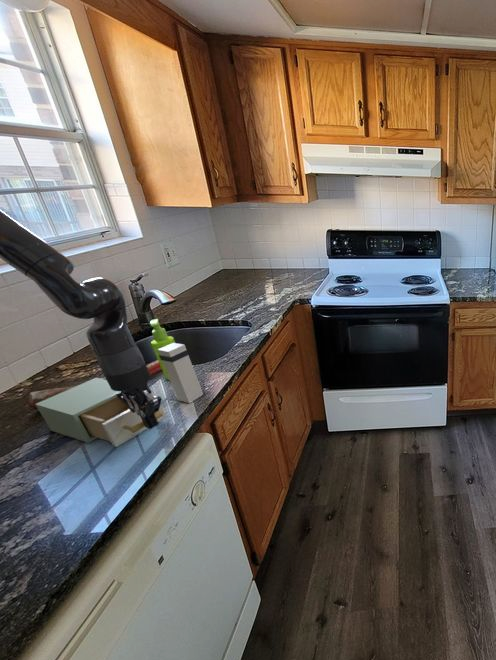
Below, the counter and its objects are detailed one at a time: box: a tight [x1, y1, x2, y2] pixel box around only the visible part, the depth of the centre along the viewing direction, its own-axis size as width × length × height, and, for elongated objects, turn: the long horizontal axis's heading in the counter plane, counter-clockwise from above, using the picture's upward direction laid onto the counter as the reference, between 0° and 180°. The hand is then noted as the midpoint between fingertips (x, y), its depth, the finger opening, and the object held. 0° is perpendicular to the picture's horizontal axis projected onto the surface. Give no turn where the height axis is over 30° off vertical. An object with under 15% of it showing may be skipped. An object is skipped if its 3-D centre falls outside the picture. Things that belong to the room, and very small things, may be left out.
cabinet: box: [35, 377, 121, 443], centre depth 98 cm, size 16×14×9 cm
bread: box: [27, 385, 77, 411], centre depth 108 cm, size 6×19×6 cm, turn 117°
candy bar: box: [146, 359, 163, 376], centre depth 122 cm, size 16×4×3 cm, turn 164°
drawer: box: [78, 395, 167, 448], centre depth 94 cm, size 19×12×7 cm, turn 71°
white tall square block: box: [158, 342, 204, 404], centre depth 106 cm, size 5×5×17 cm
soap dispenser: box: [149, 318, 176, 381], centre depth 117 cm, size 6×7×20 cm
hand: (152, 426), depth 91 cm, fingers closed
